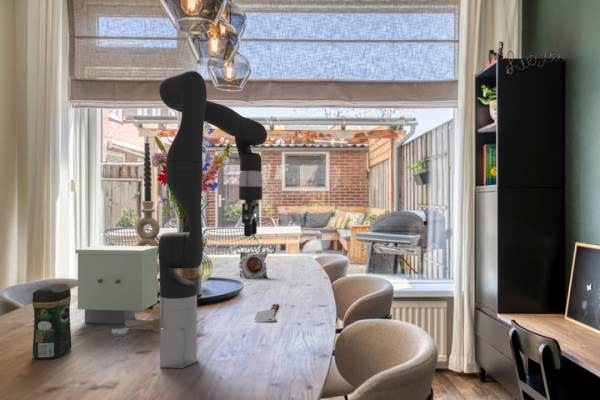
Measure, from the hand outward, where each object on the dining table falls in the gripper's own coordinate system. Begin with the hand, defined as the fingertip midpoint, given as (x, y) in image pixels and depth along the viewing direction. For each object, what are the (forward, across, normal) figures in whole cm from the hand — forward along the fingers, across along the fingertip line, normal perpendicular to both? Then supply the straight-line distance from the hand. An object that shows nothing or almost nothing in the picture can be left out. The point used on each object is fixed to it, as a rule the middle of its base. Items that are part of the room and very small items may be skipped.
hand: (250, 235), depth 146 cm
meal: (+30, +92, +18) cm, 99 cm away
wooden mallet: (+30, -5, +33) cm, 45 cm away
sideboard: (+30, +2, +46) cm, 55 cm away
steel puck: (+30, -11, +39) cm, 50 cm away
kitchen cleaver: (+31, +18, -2) cm, 36 cm away
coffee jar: (+30, -30, +48) cm, 64 cm away
